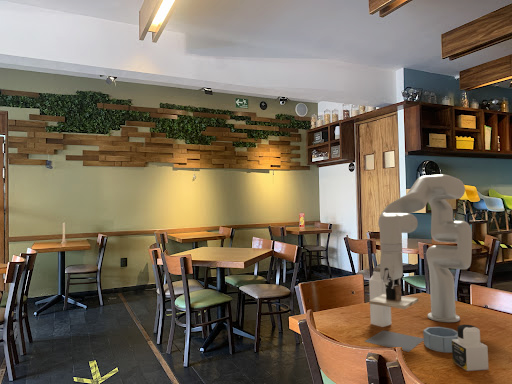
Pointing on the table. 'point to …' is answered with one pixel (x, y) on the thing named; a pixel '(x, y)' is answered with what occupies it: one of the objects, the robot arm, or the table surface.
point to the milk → (378, 312)
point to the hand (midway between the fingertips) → (393, 297)
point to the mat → (395, 340)
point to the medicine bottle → (469, 349)
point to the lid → (399, 302)
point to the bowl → (439, 338)
